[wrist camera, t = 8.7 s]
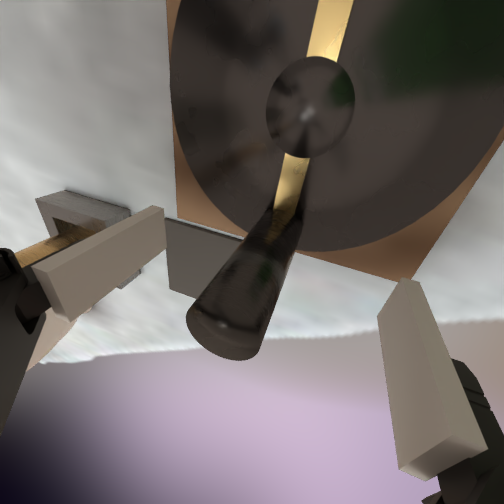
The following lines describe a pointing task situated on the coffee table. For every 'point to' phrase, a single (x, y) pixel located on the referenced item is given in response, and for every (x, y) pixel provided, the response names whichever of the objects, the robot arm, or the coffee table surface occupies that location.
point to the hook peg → (52, 245)
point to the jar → (50, 335)
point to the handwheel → (325, 130)
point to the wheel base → (359, 258)
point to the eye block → (80, 215)
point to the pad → (195, 256)
